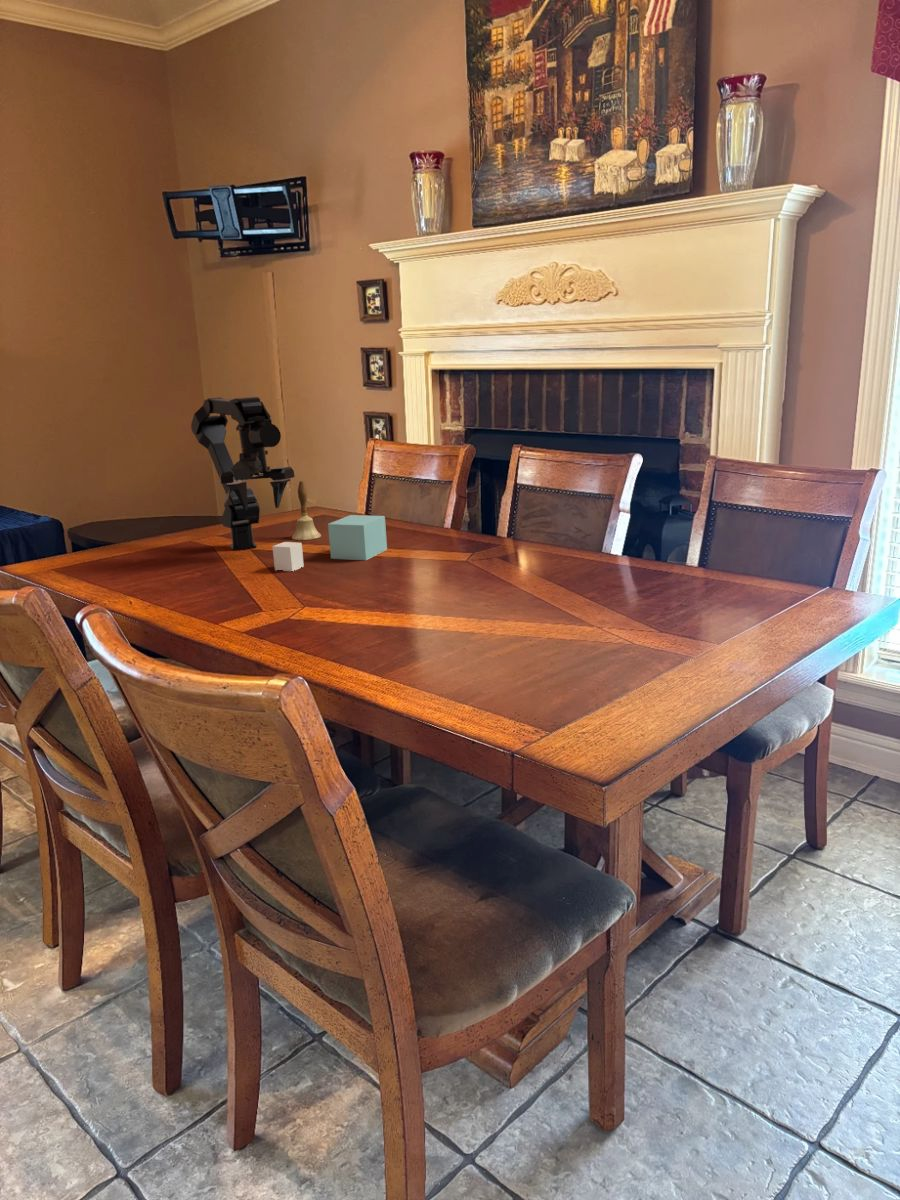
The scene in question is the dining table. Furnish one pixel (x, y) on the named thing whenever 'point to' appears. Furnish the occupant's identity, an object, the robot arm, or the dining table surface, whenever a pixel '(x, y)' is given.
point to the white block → (288, 556)
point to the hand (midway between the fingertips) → (261, 508)
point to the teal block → (357, 537)
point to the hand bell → (304, 518)
